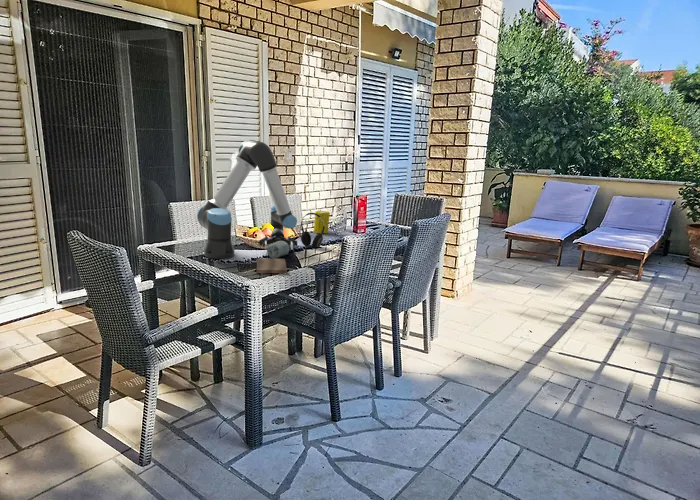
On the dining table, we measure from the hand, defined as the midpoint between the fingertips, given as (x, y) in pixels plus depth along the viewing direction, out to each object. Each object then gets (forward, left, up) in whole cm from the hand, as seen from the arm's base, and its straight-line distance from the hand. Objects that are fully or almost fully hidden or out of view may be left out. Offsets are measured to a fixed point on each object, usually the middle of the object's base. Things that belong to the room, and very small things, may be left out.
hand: (279, 247), depth 242 cm
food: (+30, +58, -6) cm, 66 cm away
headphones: (+20, +23, -6) cm, 31 cm away
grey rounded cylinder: (0, +2, -6) cm, 7 cm away
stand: (-4, -17, -6) cm, 18 cm away
